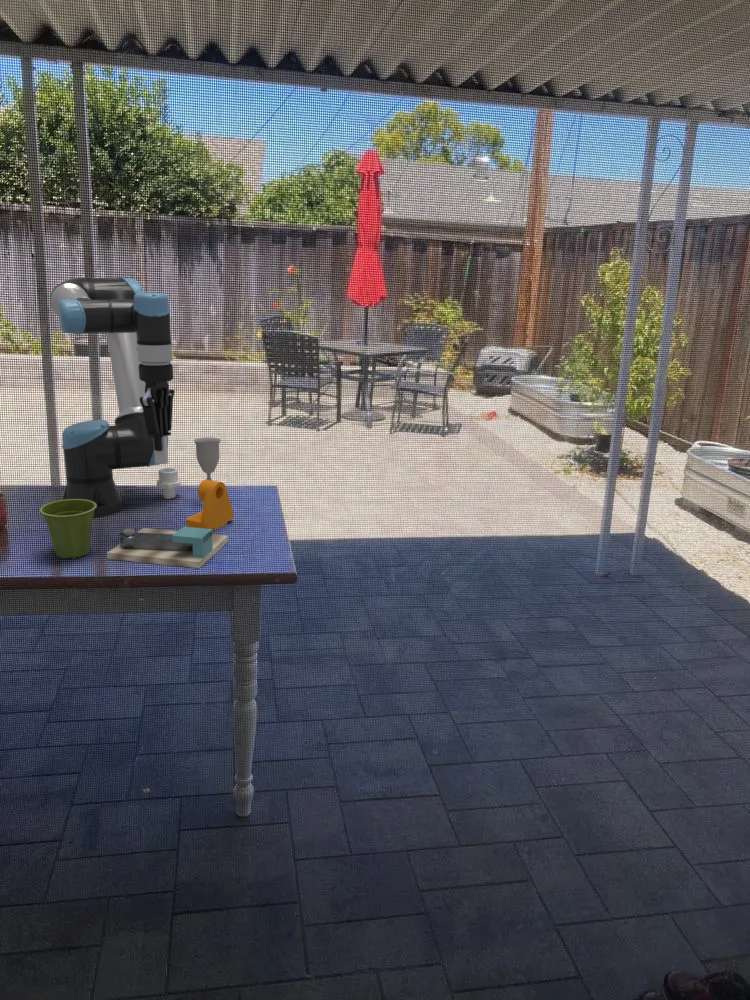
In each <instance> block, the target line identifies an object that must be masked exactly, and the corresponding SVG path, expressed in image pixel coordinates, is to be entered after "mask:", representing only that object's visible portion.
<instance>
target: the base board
mask: <svg viewBox="0 0 750 1000" xmlns="http://www.w3.org/2000/svg"><path fill="white" fill-rule="evenodd" d="M177 531H178V530H173V529H172V530H170V529H158V528H148V527H142V528H141V529H140V530H138V531H136V529H135V528H126V529H123V530H122V533H123V535H125V536H131V535H134V534H135V532H137V533H158V534H175V533H176V532H177ZM227 543H229V535H224V534H223V535H222V534H214V533H213V536H212V548H213V550H212V551H211V552H210V553H209V554H207V555H206V556H205V557H204V558H201V557H193V550H191V551H185V550H162V549H139V548H132V549H124V548H121V547H120V543H119V544H117V545H116V546H114V547H113V548H112V549H110V550H109V551H107V552H106V557H107V560H115V561H122V562H123V561H126V562H135V563H144V564H154V565H164V566H172V567H173V566H174V567H183V568H192V569H200V568H202V566H204V565H205V564H206V563H207V562H208V561H209V560H210V559H211V558H213V556H214V555H216V553H218V552H219V551H220V550H221V549H222V548H223V547H225V545H226V544H227Z"/></svg>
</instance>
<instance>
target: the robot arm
mask: <svg viewBox="0 0 750 1000" xmlns="http://www.w3.org/2000/svg"><path fill="white" fill-rule="evenodd" d="M49 305H50V307H51V309H52V312H53V313H55V315H57V316H58V320H59V325H60V329H61V331H62V333H64V334H75V335H81V334H106V338H107V339H106V340H107V344H108V349H109V356H110V361H111V362H110V363H111V370H112V374H113V375H112V376H113V382H114V388H115V395H116V401H117V409H118V415H117V416H116V417H115V418H114V424H113V425H110V424H109V422H108V421H107V420H105V419H97V420H96V419H92V420H86V421H81V422H77V423H73V424H70V425H69V426H67V427H66V428H64V430H63V431H62V433H61V436H62V445H61V448H62V450H63V459H64V460H63V461H64V468H65V469H64V471H65V478H66V480H65V481H66V482H65V483H66V485H65V488H64V493H63V496H62V500H66V499H85V500H90V501H93V502H95V503H96V504H97V507H96V508H95V509H94V517H93V518H95V517H105V516H107V515H111V514H114V513H116V512H119V511H120V510H122V508H123V499H122V497H121V494H120V492H119V489H118V487H117V485H116V483H115V481H114V475H113V473H114V472H113V470H120V469H121V470H122V469H131V468H133V469H134V468H142V467H143V468H144V467H147V468H150V467H151V466H158V465H167V464H169V436H171V435H172V432H171V431H172V426H173V425H172V423H173V406H174V404H173V403H174V396H175V389H170V386H169V382H170V381H172V380H173V379H174V368H173V366H174V365H173V364H172V361H173V359H174V358H173V347H172V345H173V344H172V334H171V333H172V332H171V314H170V313H171V307H170V301H169V296H168V295H167V294H166V293H164V292H145V291H144V290H143V286H142V284H141V283H140V282H139V281H137V280H136V279H135V278H127V277H126V278H125V277H122V276H121V277H83V276H82V277H80V276H79V277H73V278H69V279H66V280H64V281H62V282H60V283H58V284H57V285H55V286H54V287H53V289H52V290H51V292H50V295H49Z"/></svg>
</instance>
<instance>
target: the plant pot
mask: <svg viewBox="0 0 750 1000" xmlns="http://www.w3.org/2000/svg"><path fill="white" fill-rule="evenodd" d="M96 507H97V504H96V503H95V502H93V501H90V500H85V499H66V500H63V499H59V500H54V501H51V502H48V503H46V504H43V505H42V506H41V507H40V508H39V512H40V514H42V515H43V519H44V521H45V523H46V525H47V528H48V531H49V532H48V533H49V535H50V539H51V542H52V545H53V549H54V552H55V555H56V557H58V558H60V557H61V558H60V559H64V558H67V559H68V558H72V559H77V558H76V557H79V558H81V557H80V556H82V557H85V556H86V555H88V554H89V553H90V550H91V542H92V529H93V521H94V520H93V519H94V518H95V517H94V509H95V508H96ZM84 555H85V556H84Z"/></svg>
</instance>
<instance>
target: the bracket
mask: <svg viewBox="0 0 750 1000" xmlns="http://www.w3.org/2000/svg"><path fill="white" fill-rule="evenodd" d="M197 488H198V489H197V496H198V499H200V500H201V501H202V500H203V501H204V505H202V506H203V507H202V511H200V512H198V513H195V514H192V515H190V516H189V517H186V518H185V527H193V528H203V529H213V530H215V531H216V529H217V528H219V527H221V526H223V525H225V524H227V523H228V522H229V521H231V520H234V518H235V517H234V510H233V506H232V503H231V500H230V497H229V492H228V489H227V487H226V484H225V483H224V482H222V481H217V480H213V479H212V480H206V479H203V480H201V481H200V483H199V485H198V487H197ZM227 525H228V524H227ZM225 526H226V525H225ZM223 527H224V526H223ZM221 528H222V527H221ZM219 529H220V528H219ZM217 530H218V529H217Z"/></svg>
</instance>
